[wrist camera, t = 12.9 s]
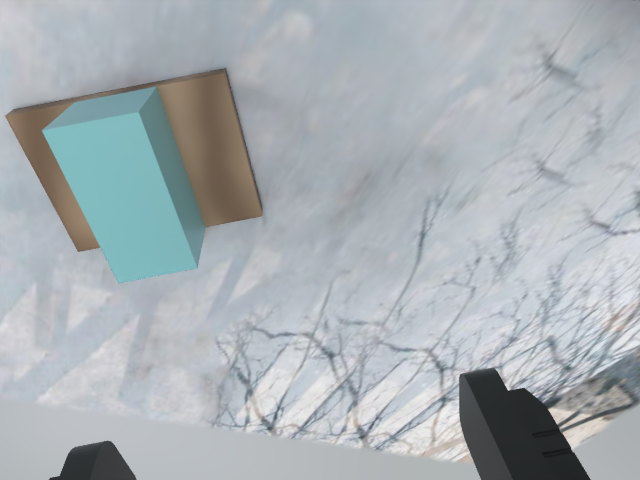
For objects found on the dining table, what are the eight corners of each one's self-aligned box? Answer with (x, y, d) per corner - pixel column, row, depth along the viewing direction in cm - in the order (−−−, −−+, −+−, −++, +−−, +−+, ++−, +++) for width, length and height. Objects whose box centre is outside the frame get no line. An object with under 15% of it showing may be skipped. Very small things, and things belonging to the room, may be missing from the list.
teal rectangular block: (156, 86, 34) (138, 111, 29) (205, 227, 40) (197, 268, 35) (74, 102, 34) (41, 130, 29) (136, 240, 40) (118, 283, 35)
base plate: (225, 68, 35) (221, 83, 31) (262, 207, 42) (262, 234, 38) (14, 109, 35) (-16, 129, 31) (83, 242, 42) (65, 272, 38)
